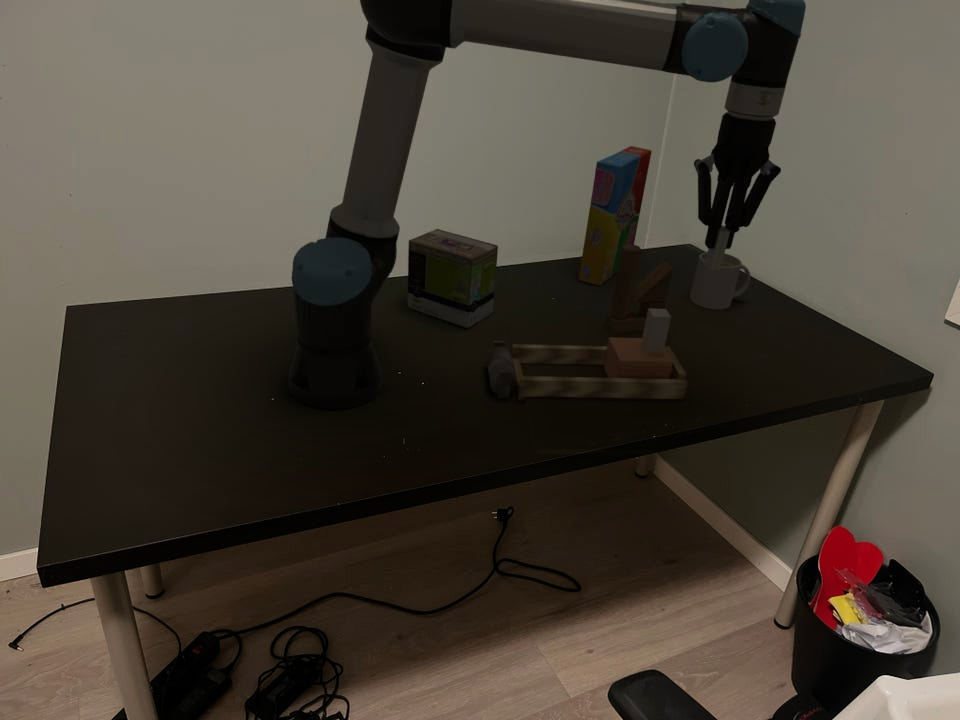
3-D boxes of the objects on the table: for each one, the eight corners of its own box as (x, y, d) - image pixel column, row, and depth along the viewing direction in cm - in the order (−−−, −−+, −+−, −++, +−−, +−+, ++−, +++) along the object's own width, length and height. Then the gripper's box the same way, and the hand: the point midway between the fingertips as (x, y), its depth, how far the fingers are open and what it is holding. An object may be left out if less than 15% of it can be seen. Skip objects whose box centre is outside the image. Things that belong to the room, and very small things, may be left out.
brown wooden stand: (659, 333, 142) (678, 248, 133) (610, 337, 139) (626, 251, 130) (650, 325, 145) (668, 241, 136) (602, 328, 142) (617, 243, 133)
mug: (684, 302, 156) (694, 259, 151) (697, 288, 163) (707, 247, 158) (733, 316, 151) (745, 273, 146) (744, 301, 159) (756, 259, 154)
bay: (490, 400, 117) (492, 374, 114) (484, 363, 127) (486, 338, 125) (682, 403, 120) (689, 378, 117) (661, 366, 130) (667, 343, 128)
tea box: (494, 313, 145) (500, 244, 138) (467, 330, 138) (472, 259, 130) (434, 292, 152) (437, 226, 144) (405, 308, 144) (406, 239, 137)
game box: (599, 287, 160) (619, 166, 146) (577, 281, 162) (595, 161, 149) (631, 260, 176) (652, 149, 162) (610, 254, 178) (629, 144, 165)
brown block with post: (614, 392, 120) (628, 323, 113) (603, 365, 127) (615, 300, 121) (666, 393, 121) (682, 325, 114) (651, 367, 128) (666, 301, 122)
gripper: (715, 117, 99) (680, 274, 110) (805, 122, 100) (761, 277, 112) (697, 107, 105) (665, 256, 117) (782, 112, 106) (742, 259, 118)
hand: (712, 266), depth 114 cm, fingers closed
